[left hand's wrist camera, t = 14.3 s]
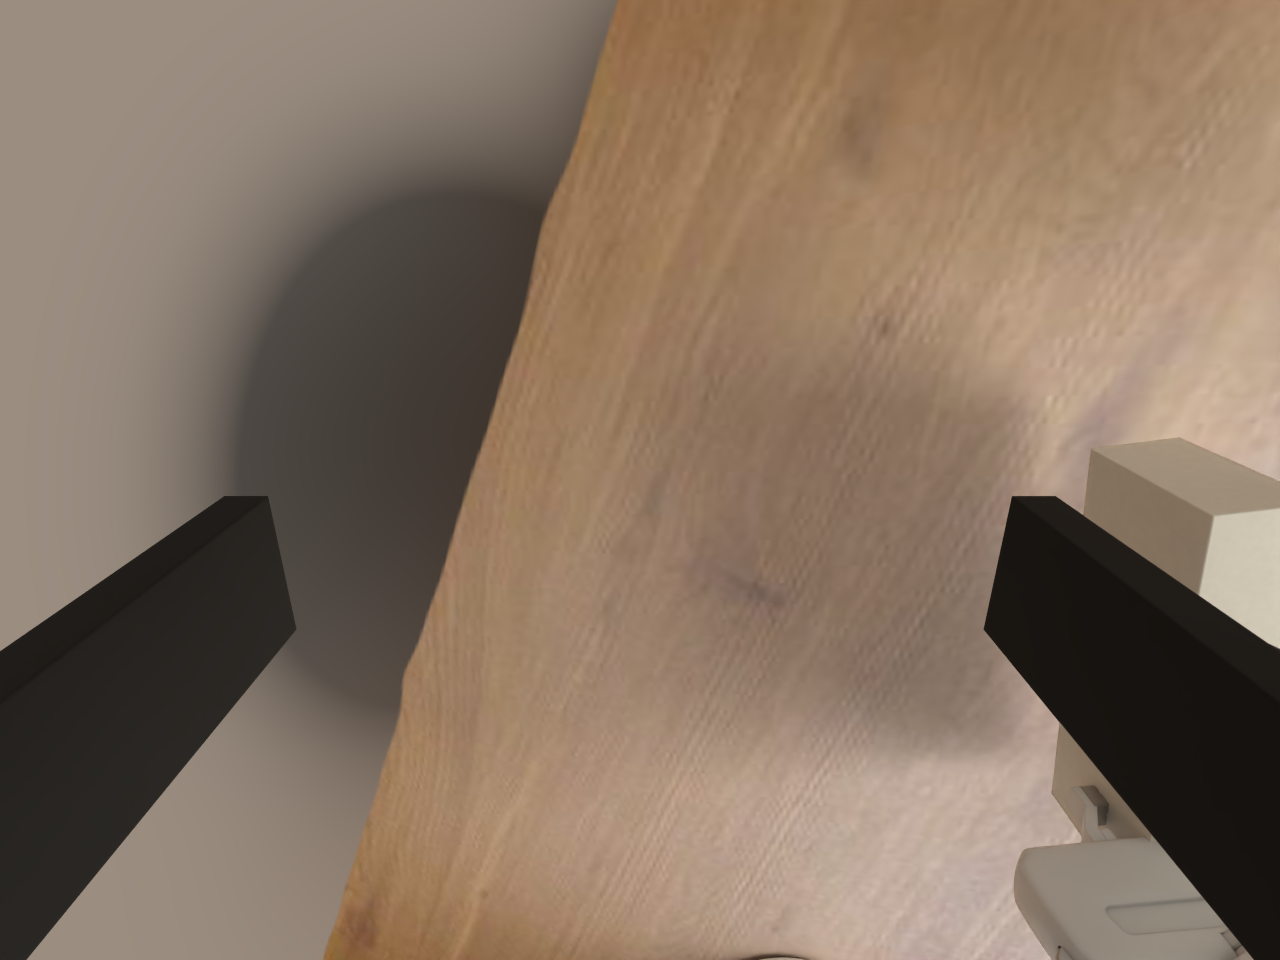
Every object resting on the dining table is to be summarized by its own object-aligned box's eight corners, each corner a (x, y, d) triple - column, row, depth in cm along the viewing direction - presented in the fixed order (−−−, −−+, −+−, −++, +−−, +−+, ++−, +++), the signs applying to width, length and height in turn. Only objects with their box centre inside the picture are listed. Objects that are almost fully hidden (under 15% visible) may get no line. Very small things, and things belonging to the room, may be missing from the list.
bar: (1090, 448, 40) (1213, 515, 31) (1179, 437, 40) (1327, 501, 31) (1050, 792, 50) (1136, 915, 41) (1122, 785, 49) (1222, 907, 41)
